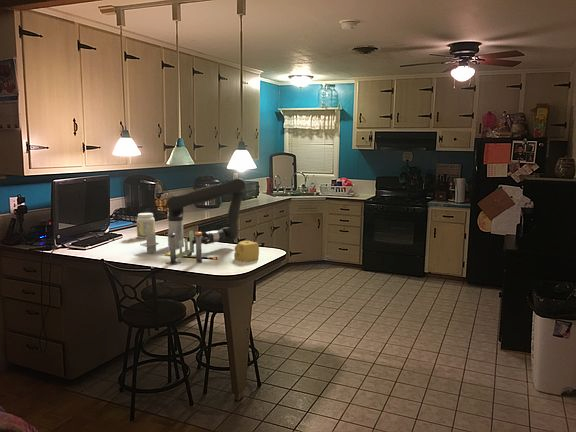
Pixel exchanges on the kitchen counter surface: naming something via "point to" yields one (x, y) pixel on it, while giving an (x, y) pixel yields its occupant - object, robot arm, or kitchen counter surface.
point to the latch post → (198, 247)
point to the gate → (186, 246)
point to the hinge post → (172, 250)
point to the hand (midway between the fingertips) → (188, 241)
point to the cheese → (246, 251)
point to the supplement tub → (145, 225)
